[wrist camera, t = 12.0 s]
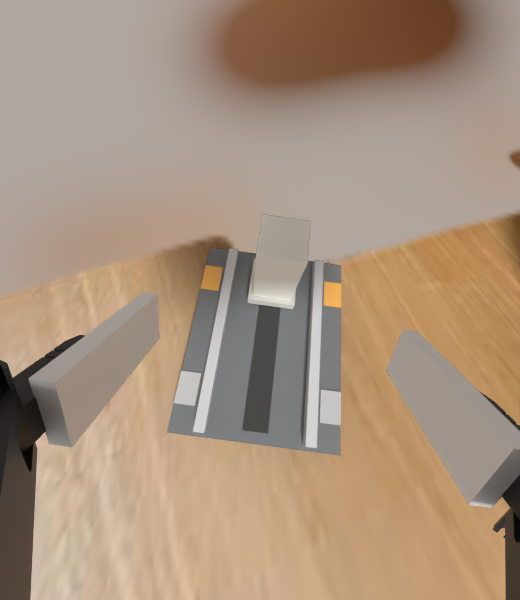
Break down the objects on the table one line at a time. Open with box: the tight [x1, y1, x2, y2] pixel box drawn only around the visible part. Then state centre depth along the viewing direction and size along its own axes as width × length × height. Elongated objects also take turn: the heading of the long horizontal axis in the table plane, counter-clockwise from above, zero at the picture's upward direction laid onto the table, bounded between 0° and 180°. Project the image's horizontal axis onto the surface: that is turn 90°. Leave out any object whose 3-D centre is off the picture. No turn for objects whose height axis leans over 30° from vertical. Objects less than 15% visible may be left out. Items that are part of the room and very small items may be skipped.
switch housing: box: [167, 247, 341, 455], centre depth 27 cm, size 16×20×4 cm
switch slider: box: [248, 214, 310, 309], centre depth 24 cm, size 5×5×9 cm
